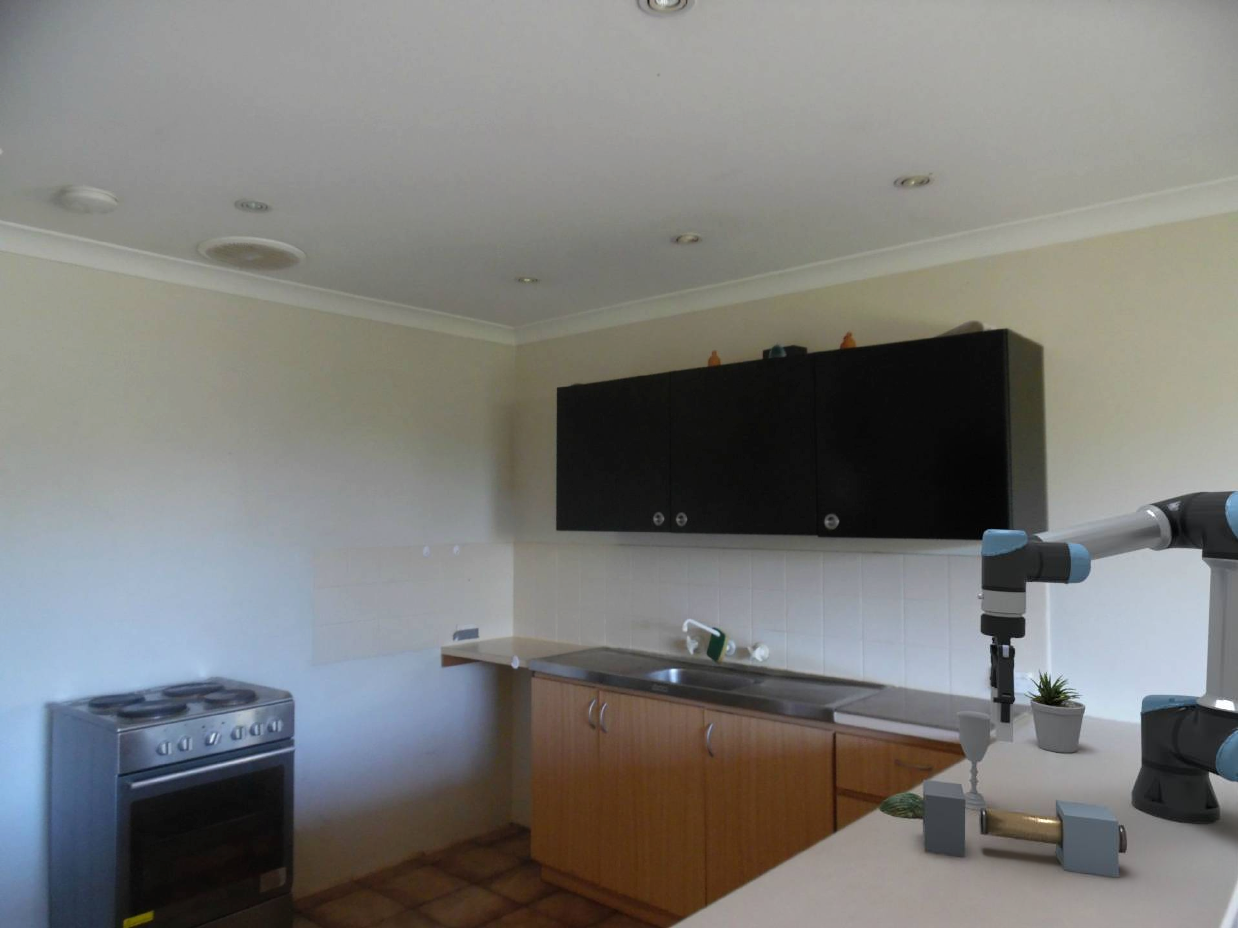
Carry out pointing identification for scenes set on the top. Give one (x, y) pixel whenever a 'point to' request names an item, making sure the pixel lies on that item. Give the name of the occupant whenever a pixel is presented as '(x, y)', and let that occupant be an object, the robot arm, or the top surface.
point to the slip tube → (1029, 827)
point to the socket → (943, 818)
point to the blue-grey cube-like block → (1088, 839)
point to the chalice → (974, 749)
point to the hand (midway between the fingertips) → (1001, 731)
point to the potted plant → (1056, 716)
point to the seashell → (903, 806)
